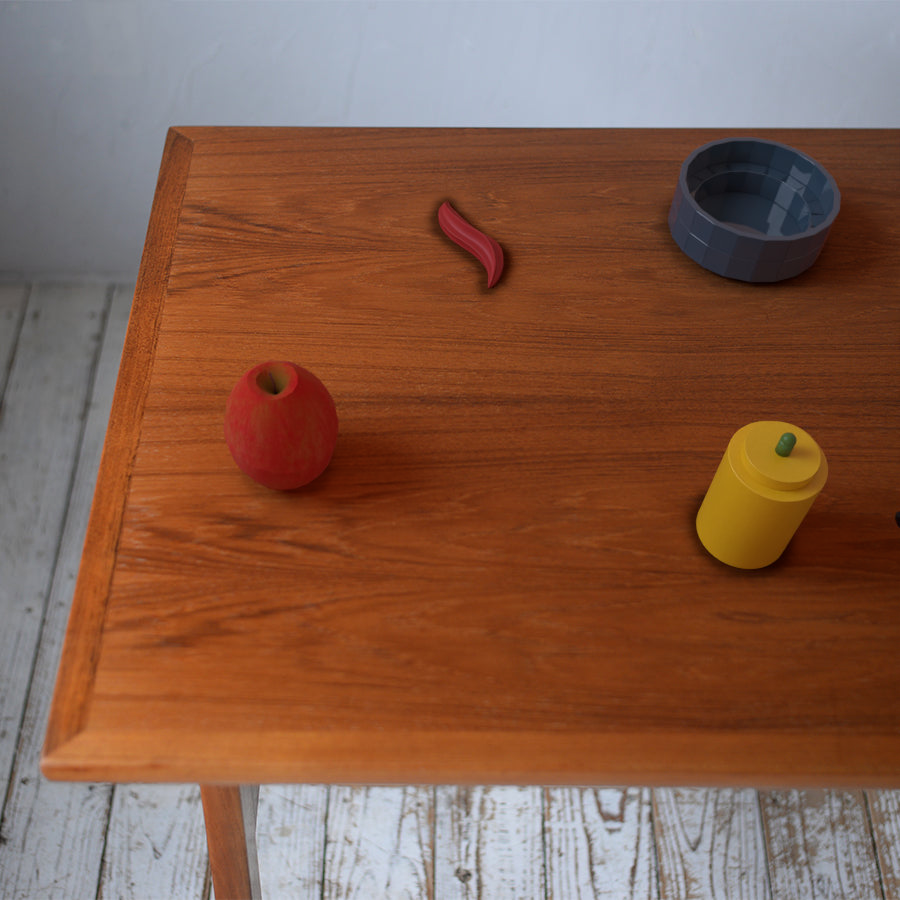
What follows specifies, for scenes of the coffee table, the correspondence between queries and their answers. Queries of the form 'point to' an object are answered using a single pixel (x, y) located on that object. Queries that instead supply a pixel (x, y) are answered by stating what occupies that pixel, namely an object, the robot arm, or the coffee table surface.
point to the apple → (281, 425)
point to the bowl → (753, 209)
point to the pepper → (760, 493)
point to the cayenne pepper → (472, 241)
